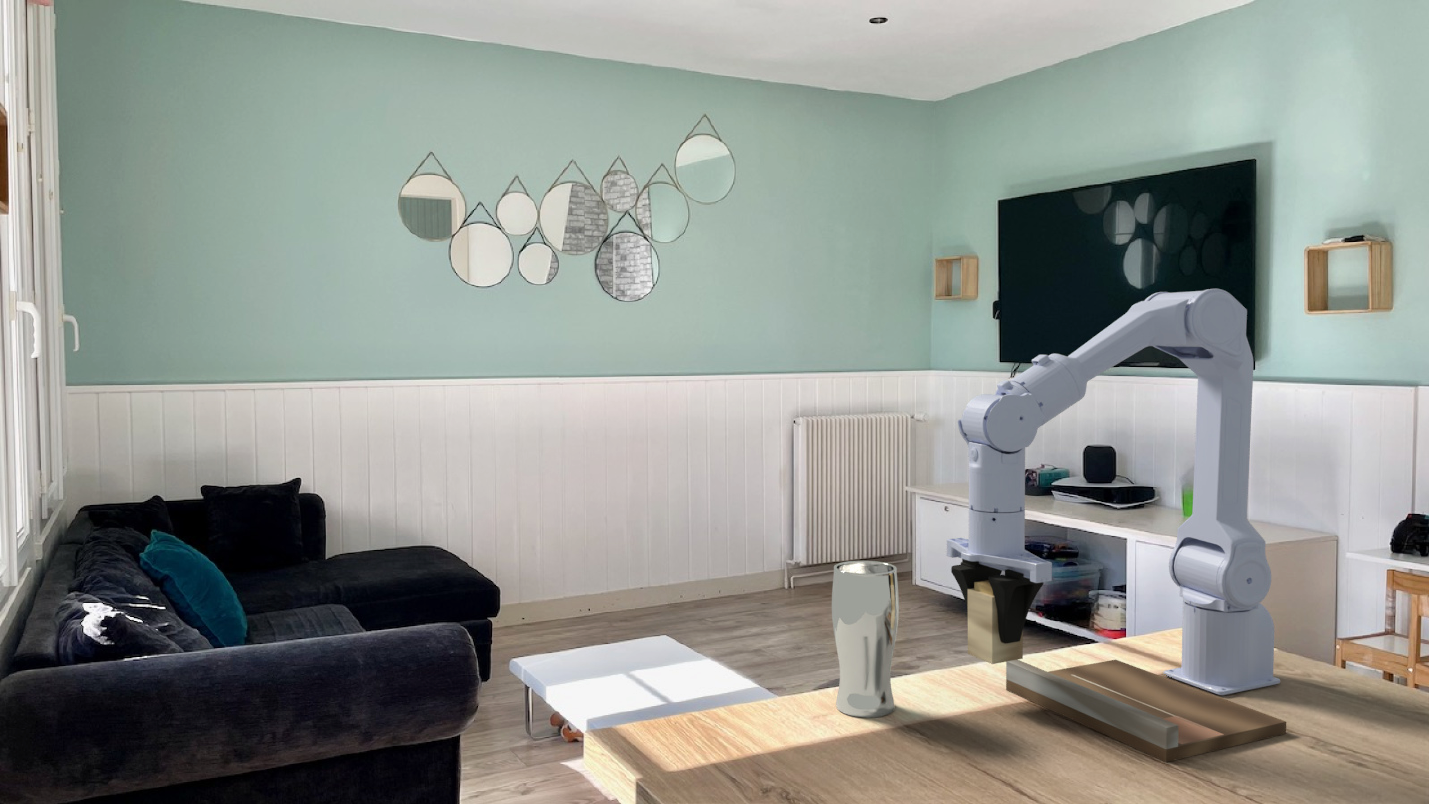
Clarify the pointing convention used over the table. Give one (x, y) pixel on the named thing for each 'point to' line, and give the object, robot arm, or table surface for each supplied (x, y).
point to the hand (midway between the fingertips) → (995, 636)
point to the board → (1142, 708)
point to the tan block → (987, 628)
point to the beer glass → (865, 635)
